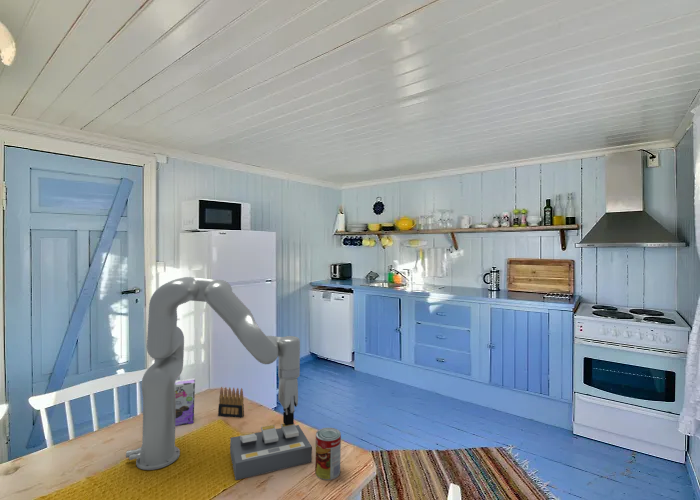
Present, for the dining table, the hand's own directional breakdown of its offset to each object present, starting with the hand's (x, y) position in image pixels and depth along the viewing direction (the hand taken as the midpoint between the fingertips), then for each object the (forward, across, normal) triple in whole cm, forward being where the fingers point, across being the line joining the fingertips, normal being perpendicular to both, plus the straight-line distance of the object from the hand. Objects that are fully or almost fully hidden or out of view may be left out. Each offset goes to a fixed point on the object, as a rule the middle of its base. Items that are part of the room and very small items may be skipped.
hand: (288, 423), depth 124 cm
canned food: (+8, +20, +8) cm, 22 cm away
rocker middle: (+1, +3, -7) cm, 8 cm away
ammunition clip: (+8, -32, -16) cm, 36 cm away
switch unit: (+8, +4, -7) cm, 12 cm away
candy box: (+8, -34, -37) cm, 51 cm away
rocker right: (+1, +3, 0) cm, 3 cm away
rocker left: (+1, +3, -14) cm, 15 cm away
